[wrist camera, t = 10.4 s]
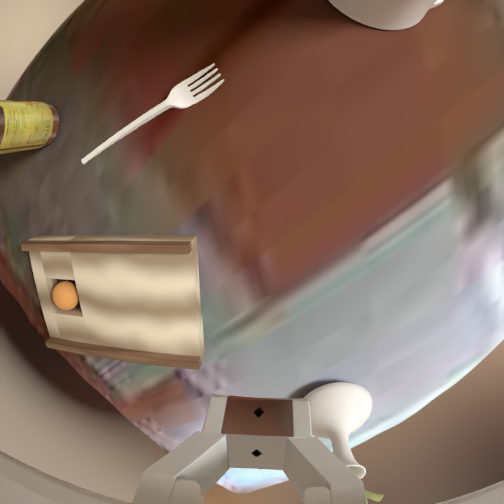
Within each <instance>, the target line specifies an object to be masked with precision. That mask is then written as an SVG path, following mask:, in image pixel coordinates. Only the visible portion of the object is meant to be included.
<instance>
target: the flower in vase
mask: <svg viewBox="0 0 504 504" xmlns="http://www.w3.org/2000/svg"><path fill="white" fill-rule="evenodd" d="M304 398H308V400H309V406H310V417H311V429H312V435H314V436H317V437H320V438H328V439H330V440H331V442H332V447H333V454H334V455H335V456H336V457H337V458H338V459H339V460H340V461H341V462H342V463H343V464H344V465H345V466H346V467H348V468H349V469H350V470H351V471H352V472H353V473H354V474H355V475H356V476H357V477H358V478H359V479H361V478H363V477H364V476H365V474H366V469H365V468H364V467H363V466H361V465H359V464H358V463H357V462H356V461H355V459H354V457H353V455H352V453H351V450H350V446H349V440H348V436H349V434H350V433H352V432H354V431H355V430H357V429H358V428H359V427H360V426H361V425H362V424H363V423H364V422H365V421H366V420H367V419H368V417H369V415H370V413H371V409H372V398H371V395H370V394H369V392H368V391H367V390H366V389H364V388H363V387H361V386H359V385H356V384H353V383H348V382H335V383H329V384H326V385H323V386H320V387H318V388H316V389H314V390H312V391H311V392H310V393H308V394H307V395H306V396H305V397H304ZM365 496H366V497H367V498H369V499H372V500H375V501H380V500H381V499H382V497H383V495H381V494H374V493H371V492H369V491H366V490H365ZM367 498H366V502H367ZM367 504H368V502H367Z"/></svg>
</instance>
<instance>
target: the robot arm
mask: <svg viewBox="0 0 504 504" xmlns="http://www.w3.org/2000/svg"><path fill="white" fill-rule="evenodd" d="M328 1H329V2H330V3H331V4H332V5H333V6H334V7H336V8H337V9H338V10H339V11H341V12H342V13H343V14H345V15H346V16H348V17H350V18H351V19H353V20H355V21H357V22H359V23H362V24H364V25H367V26H370V27H374V28H378V29H384V30H401V29H405V28H409V27H411V26H413V25H415V24H417V23H418V22H419V21H420V20H421V19H422V18H423V17H424V15H425V14H426V12H427V11H428V10H429V9H430V8H433V7H436V6H438V5H440V4H441V3H442V2H443V1H444V0H328ZM229 467H233V468H257V469H274V470H283V471H284V473H285V474H286V476H287V477H288V478H289V480H290V481H291V483H292V484H293V486H294V487H295V488H296V490H297V491H298V493H299V494H300V495H301V497H302V501H301V504H367V502H366V496H365V490H364V485H363V482H362V481H361V480H360V479H359V478H358V477H357V476H356V475H355V474H354V473H353V472H352V471H351V470H350V469H349V468H348V467H346V466H345V465H344V464H343V463H342V462H341V461H340V460H339V459H338V458H337V457H336V456H335V455H334V454H333V453H332V452H331V451H330V450H329V449H328V448H327V447H326V446H325V445H324V444H323V443H322V442H321V441H320V440H319V438H318V437H312V429H311V417H310V406H309V400H308V398H292V399H291V398H252V397H239V396H224V395H215V394H213V395H212V396H211V398H210V402H209V406H208V410H207V414H206V418H205V422H204V426H203V430H202V432H198V431H197V432H196V433H195V434H193V435H192V436H191V437H189V438H188V439H187V440H186V441H184V442H183V443H182V444H180V445H179V446H178V447H176V448H175V449H174V450H172V451H171V452H170V453H168V454H167V455H165V456H164V457H163V458H161V459H160V460H159V461H157V462H156V463H154V464H153V465H152V466H150V467H149V468H147V469H146V470H144V473H143V475H142V478H141V481H140V484H139V486H138V489H137V492H136V495H135V497H134V500H133V503H128V502H124V501H121V500H117V499H114V498H110V497H107V496H104V495H101V494H98V493H95V492H92V491H89V490H86V489H84V488H81V487H78V486H75V485H73V484H70V483H68V482H65V481H63V480H60V479H58V478H55V477H53V476H51V475H48V474H46V473H44V472H42V471H39V470H37V469H35V468H33V467H31V466H29V465H27V464H25V463H23V462H21V461H19V460H17V459H15V458H13V457H11V456H9V455H7V454H6V453H4V452H2V451H0V504H205V503H204V499H203V495H204V494H205V493H206V492H207V491H208V490H209V489H210V488H211V487H212V486H213V485H214V484H215V483H216V482H217V481H218V480H219V479H220V478H221V477H222V476H223V475H224V474H225V473H226V471H227V470H228V469H229ZM437 504H504V480H503V481H501V482H498V483H496V484H493V485H491V486H488V487H486V488H483V489H480V490H478V491H475V492H472V493H469V494H466V495H463V496H460V497H457V498H454V499H450V500H447V501H444V502H440V503H437Z"/></svg>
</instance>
